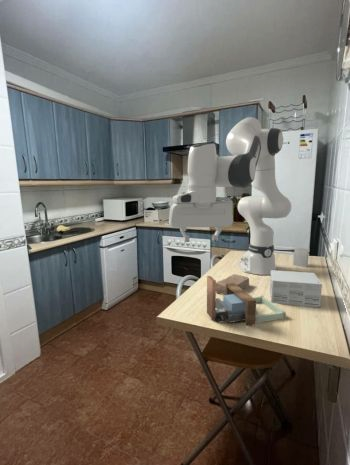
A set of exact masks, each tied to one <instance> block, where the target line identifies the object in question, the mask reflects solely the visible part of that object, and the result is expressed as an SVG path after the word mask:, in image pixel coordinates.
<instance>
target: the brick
mask: <svg viewBox="0 0 350 465" xmlns="http://www.w3.org/2000/svg"><path fill="white" fill-rule="evenodd" d="M230 282H233V283H235V284H236V285H237V286H239V287H240V288H241V289H242V290H243V289H244V290H245V289H246V288H248V287H249V286H250V279H249V277H248V276H246V275H241V274H236V273H235V274H231V275H229V276H228V277H226V278H223V279H221V280H219V281H216V293H217V294H220V295H225V292H226V283H230ZM234 294H235V293H234Z"/></svg>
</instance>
